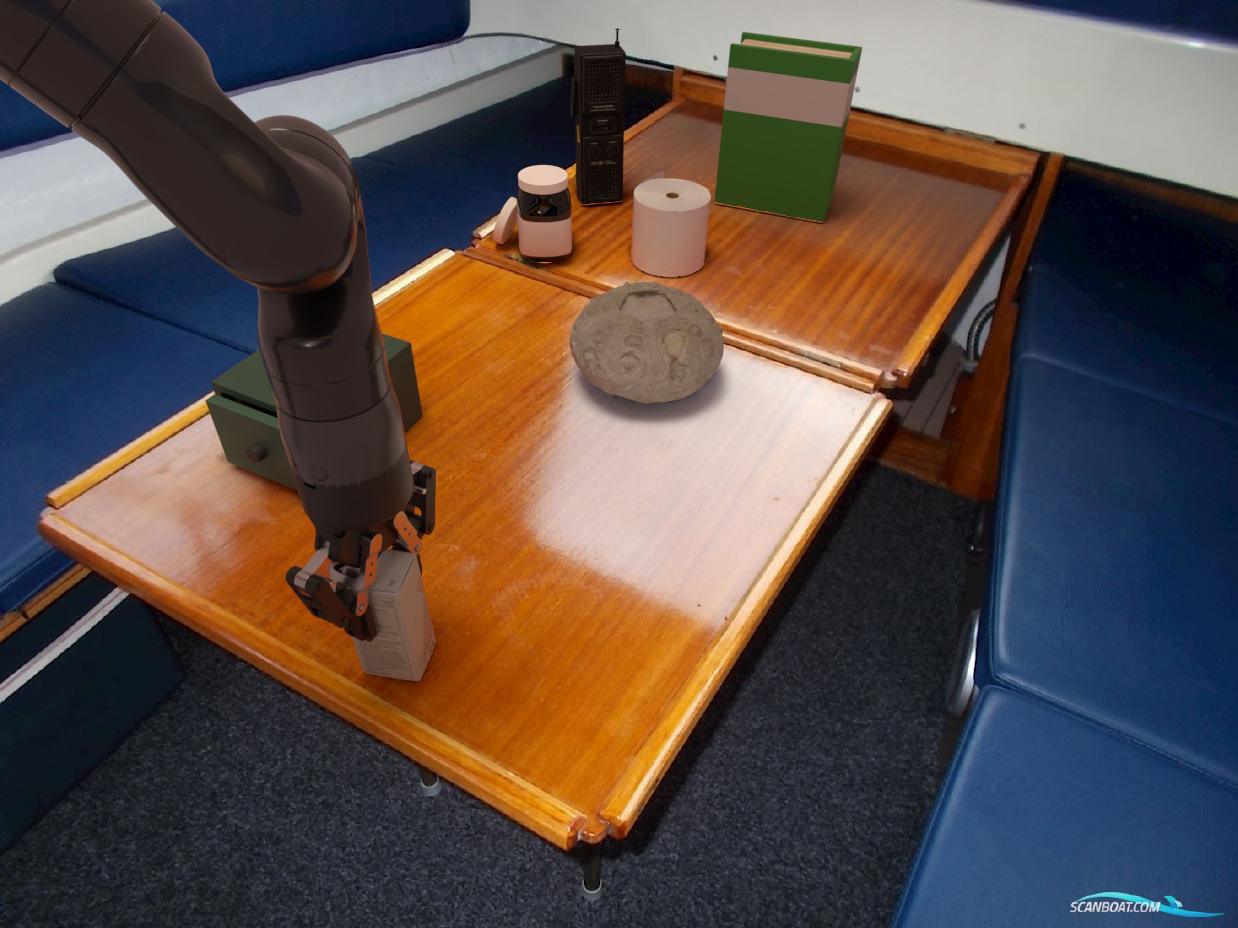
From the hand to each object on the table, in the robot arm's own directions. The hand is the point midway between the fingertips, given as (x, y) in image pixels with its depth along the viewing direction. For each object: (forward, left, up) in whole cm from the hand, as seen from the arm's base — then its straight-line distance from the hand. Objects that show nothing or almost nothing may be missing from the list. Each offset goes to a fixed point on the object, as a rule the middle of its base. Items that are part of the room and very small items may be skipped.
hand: (386, 608), depth 67 cm
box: (0, 0, -7) cm, 7 cm away
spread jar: (+67, +27, -7) cm, 73 cm away
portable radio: (+87, +27, -7) cm, 91 cm away
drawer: (+17, +24, -5) cm, 30 cm away
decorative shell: (+46, -1, -7) cm, 46 cm away
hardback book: (+99, +1, -7) cm, 99 cm away
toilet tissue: (+74, +9, -7) cm, 75 cm away
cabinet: (+20, +24, -6) cm, 32 cm away
